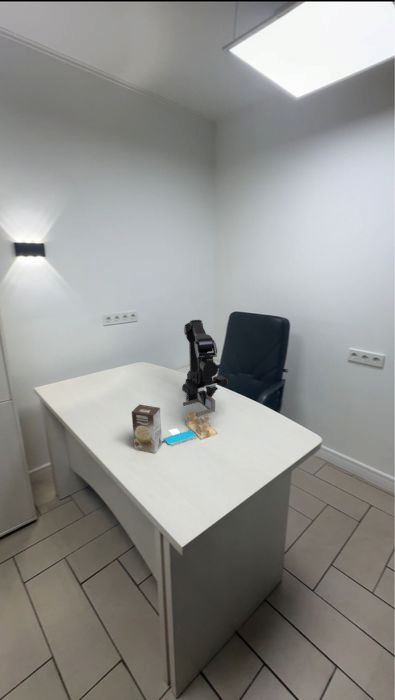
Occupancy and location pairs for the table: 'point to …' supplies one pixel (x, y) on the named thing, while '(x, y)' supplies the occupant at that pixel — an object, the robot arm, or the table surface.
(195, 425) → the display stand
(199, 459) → the table surface
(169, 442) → the blue flat piece
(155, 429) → the coffee box
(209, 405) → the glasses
